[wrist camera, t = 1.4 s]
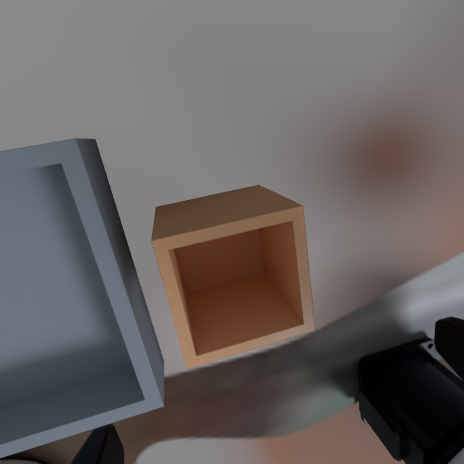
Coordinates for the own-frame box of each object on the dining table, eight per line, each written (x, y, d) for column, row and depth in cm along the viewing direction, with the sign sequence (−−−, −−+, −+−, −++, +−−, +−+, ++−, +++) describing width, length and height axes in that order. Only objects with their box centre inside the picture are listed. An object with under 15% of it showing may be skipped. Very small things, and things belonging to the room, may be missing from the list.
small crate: (258, 185, 17) (303, 205, 12) (271, 275, 19) (315, 330, 14) (155, 206, 16) (151, 241, 11) (180, 299, 18) (187, 368, 13)
